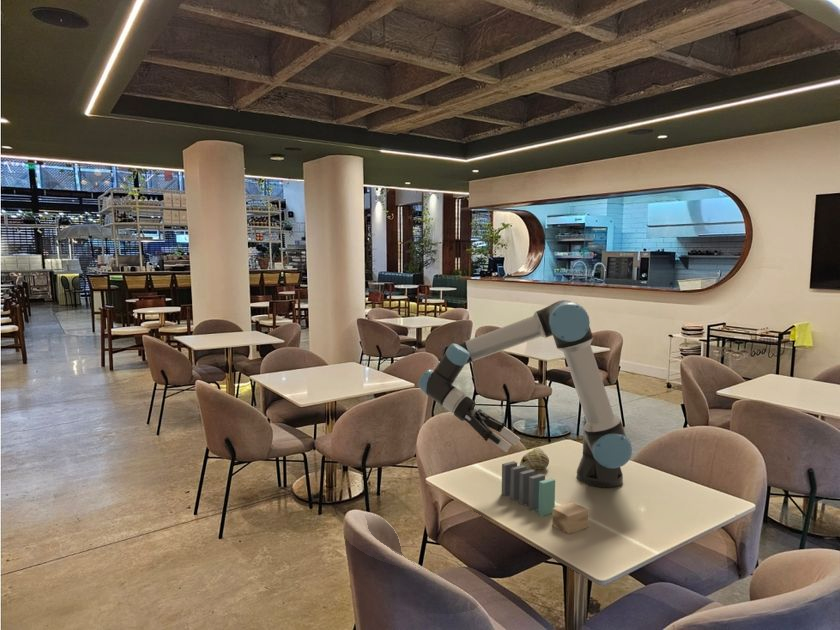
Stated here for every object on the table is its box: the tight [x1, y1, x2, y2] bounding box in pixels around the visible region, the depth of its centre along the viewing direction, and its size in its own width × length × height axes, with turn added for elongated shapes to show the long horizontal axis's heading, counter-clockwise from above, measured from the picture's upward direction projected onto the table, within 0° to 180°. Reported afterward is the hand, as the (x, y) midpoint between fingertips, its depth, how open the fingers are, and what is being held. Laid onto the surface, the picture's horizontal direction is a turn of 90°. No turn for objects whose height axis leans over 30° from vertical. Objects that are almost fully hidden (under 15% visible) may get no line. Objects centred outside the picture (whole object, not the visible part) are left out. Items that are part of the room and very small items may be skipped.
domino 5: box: [537, 478, 556, 517], centre depth 159 cm, size 2×5×10 cm, turn 121°
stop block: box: [551, 501, 590, 535], centre depth 151 cm, size 6×8×5 cm
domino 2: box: [509, 465, 526, 501], centre depth 169 cm, size 2×5×10 cm, turn 122°
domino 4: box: [528, 473, 546, 512], centre depth 162 cm, size 2×5×10 cm, turn 121°
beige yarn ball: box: [519, 447, 550, 471], centre depth 195 cm, size 10×10×10 cm
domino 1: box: [501, 460, 518, 496], centre depth 173 cm, size 2×5×10 cm, turn 122°
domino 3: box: [518, 469, 536, 506], centre depth 166 cm, size 2×5×10 cm, turn 121°
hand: (513, 445), depth 166 cm, fingers open, 13 cm apart
